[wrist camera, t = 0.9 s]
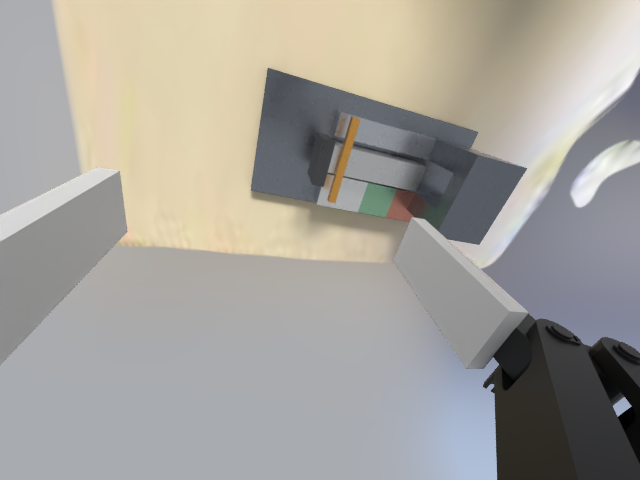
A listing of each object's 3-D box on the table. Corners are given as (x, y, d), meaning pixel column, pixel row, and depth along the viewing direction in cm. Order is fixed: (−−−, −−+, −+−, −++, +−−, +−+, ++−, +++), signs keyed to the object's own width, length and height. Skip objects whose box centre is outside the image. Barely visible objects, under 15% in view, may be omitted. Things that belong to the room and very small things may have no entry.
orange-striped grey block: (319, 105, 29) (330, 112, 23) (425, 135, 32) (455, 147, 27) (301, 185, 33) (306, 205, 28) (396, 204, 36) (417, 225, 31)
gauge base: (268, 68, 27) (266, 63, 19) (473, 130, 34) (539, 148, 26) (251, 187, 33) (244, 224, 25) (428, 220, 40) (470, 258, 32)
